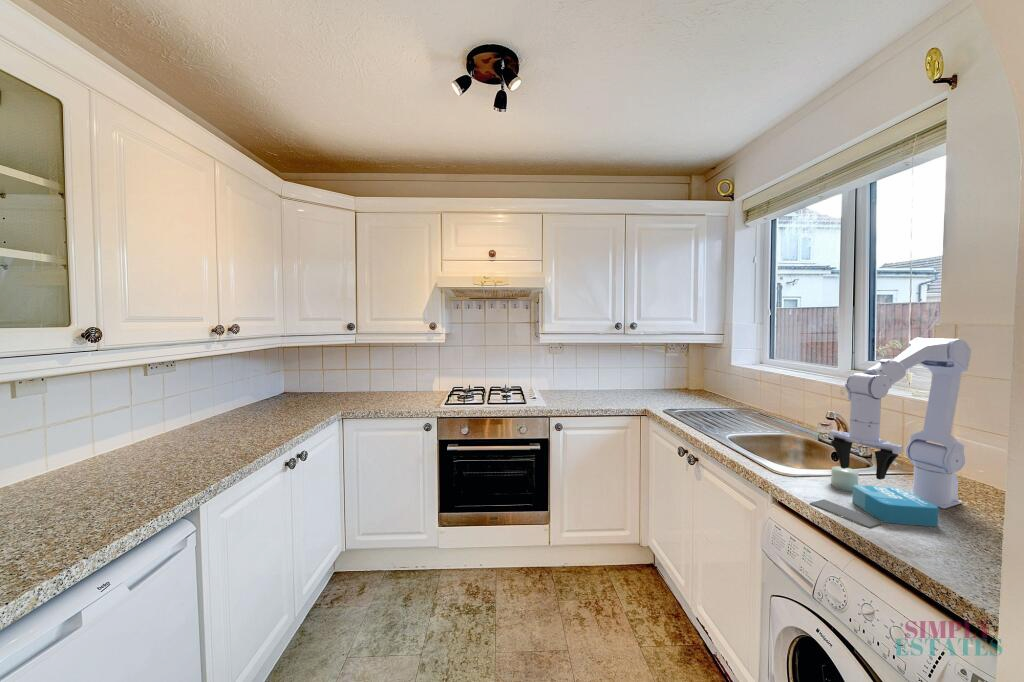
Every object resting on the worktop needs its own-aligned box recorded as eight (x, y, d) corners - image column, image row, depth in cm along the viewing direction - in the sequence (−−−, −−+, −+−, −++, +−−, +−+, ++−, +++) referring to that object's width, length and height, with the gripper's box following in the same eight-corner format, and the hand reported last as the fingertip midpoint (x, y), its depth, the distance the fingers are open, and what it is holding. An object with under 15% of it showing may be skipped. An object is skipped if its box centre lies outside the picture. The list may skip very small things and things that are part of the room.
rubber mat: (824, 500, 105) (824, 499, 105) (884, 523, 93) (884, 522, 93) (809, 504, 103) (809, 502, 103) (869, 528, 91) (869, 526, 91)
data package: (850, 484, 105) (901, 487, 103) (849, 500, 105) (900, 504, 103) (884, 504, 93) (942, 508, 91) (883, 522, 94) (941, 527, 92)
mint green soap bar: (838, 481, 118) (839, 465, 118) (862, 489, 113) (863, 472, 112) (826, 484, 116) (826, 468, 116) (850, 492, 110) (850, 475, 110)
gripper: (823, 415, 105) (820, 465, 105) (891, 429, 91) (888, 486, 92) (839, 413, 107) (837, 462, 108) (908, 426, 94) (905, 482, 95)
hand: (862, 473), depth 100 cm, fingers open, 7 cm apart
